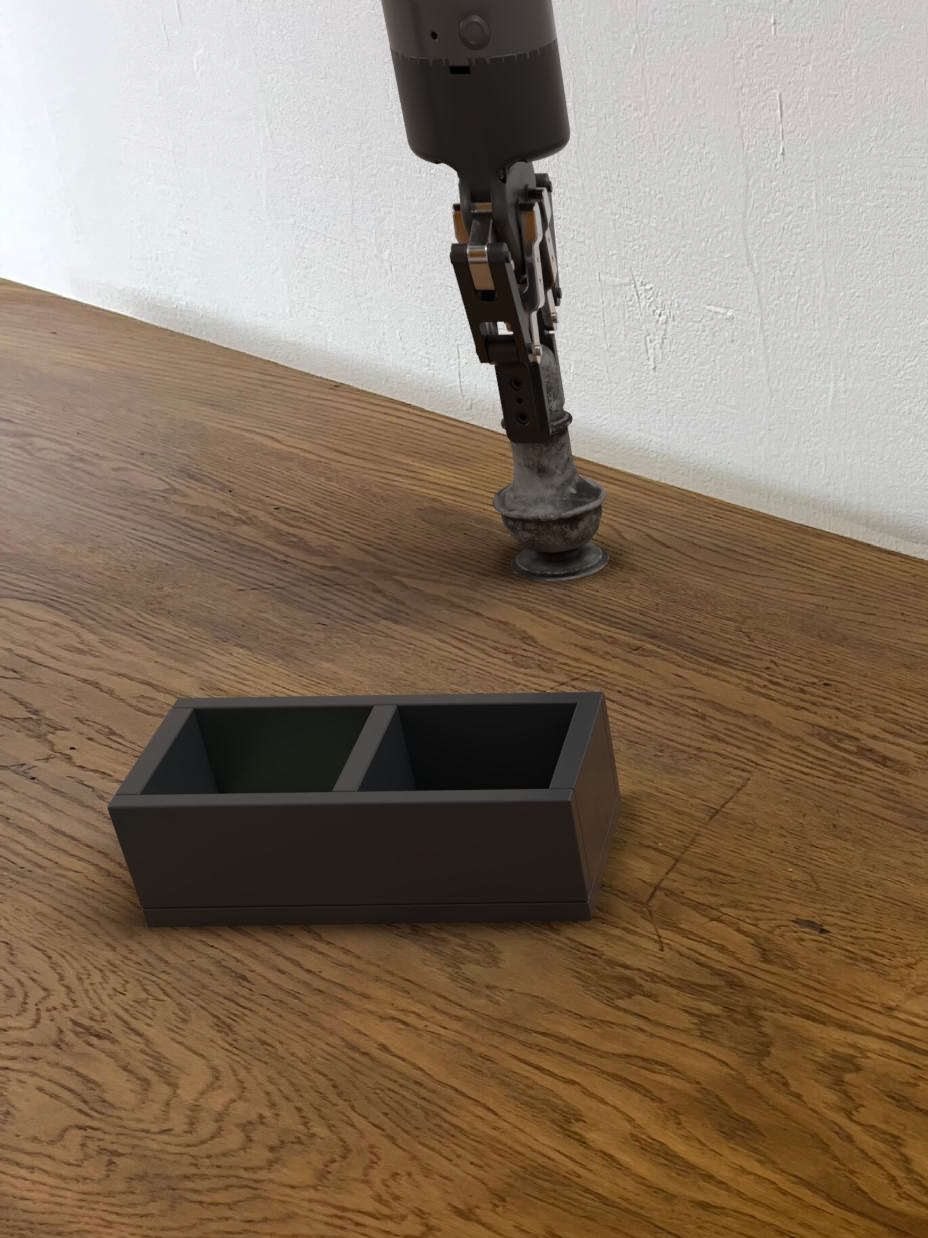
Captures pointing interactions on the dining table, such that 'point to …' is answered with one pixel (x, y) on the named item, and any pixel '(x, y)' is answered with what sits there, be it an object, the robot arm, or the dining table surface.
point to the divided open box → (372, 810)
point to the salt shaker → (552, 500)
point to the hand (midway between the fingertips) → (537, 424)
